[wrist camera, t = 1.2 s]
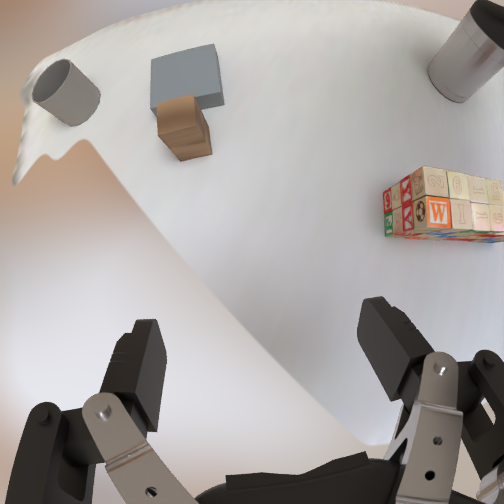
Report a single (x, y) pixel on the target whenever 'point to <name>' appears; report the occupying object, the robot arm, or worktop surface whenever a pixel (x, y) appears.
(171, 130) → the walnut block
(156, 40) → the worktop surface
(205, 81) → the slate block
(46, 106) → the cup
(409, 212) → the stack of blocks
